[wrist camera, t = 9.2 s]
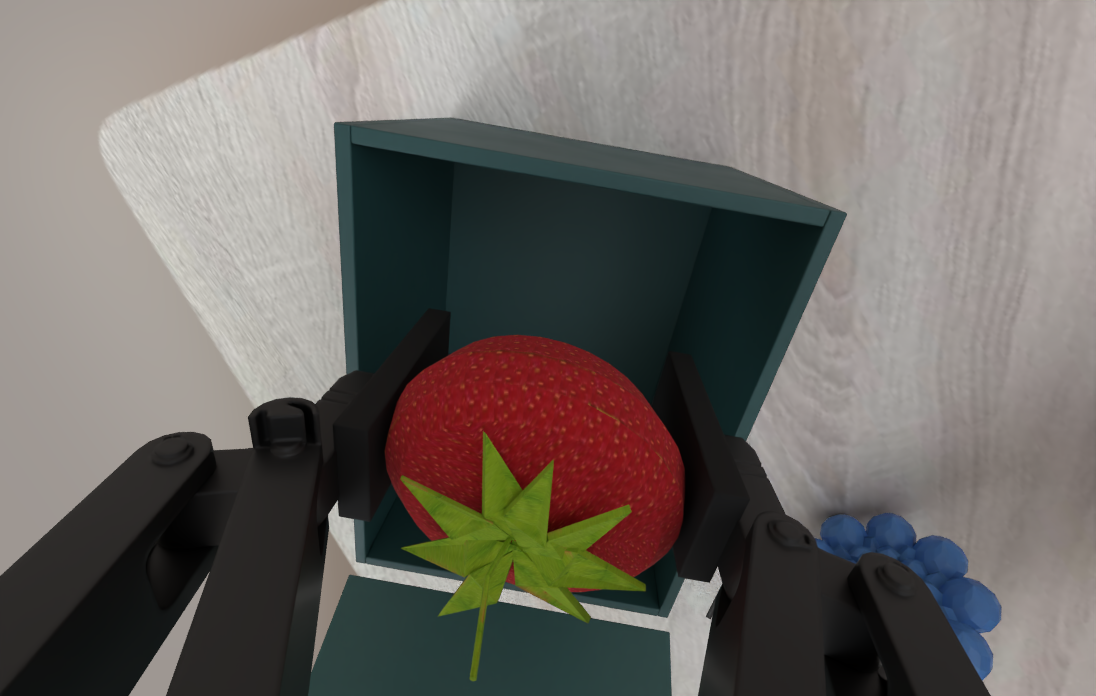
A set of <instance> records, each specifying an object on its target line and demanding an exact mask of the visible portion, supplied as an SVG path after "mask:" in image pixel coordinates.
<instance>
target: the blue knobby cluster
mask: <svg viewBox="0 0 1096 696" xmlns="http://www.w3.org/2000/svg"><path fill="white" fill-rule="evenodd" d="M820 535H821V538H822V540H820V539H817V538H815V540H816V543H817V546H818V548H820V549H822V550H824V551H826V552H828V553H831V554H833V555H836V556H838V557H840V558H843V559H845V560H848V561H850V562H852V563H855V564H856V563H857V562H858V560H859V559H860V557H861V556H862V554H866V553H869V552H874V553H882V554H884V555H887V556H889V557H892V558H894V559H896V560H898V561H900V562H901V563H903V564H904V565H906V566H908V567H909V568H910V569H911V570H913V571H914V572H915V573H916V574H917V575H918V576H919V577H920V578H922V580H923V581H924V582H925V584H926V585H927V586H928V588H929V589H930V591H931V592H932V594H933V596H934V598H935V599H936V601H937V603H938V605H939V606H940V608H941V610H942V612H943V613H944V615H945V617H946V619H947V620H948V622H949V624H950V626H951V627H952V629H953V631H954V632H955V634H956V636H957V638H958V639H959V641H960V643H961V645H962V646H963V648H964V650H965V652H966V653H967V655H968V657H969V659H970V660H971V662H972V664H973V666H974V667H975V669H976V671H977V673H978V674H979V676H980V678H981V680H983V679H984V678H985V677H986V676H987V675H988V674H989V673H990V672H991V670H992V667H993V653H992V651H991V649H990V648H989V646H988V644H987V642H986V640H985V639H984V638H983V637H982V636H981V635H980V634H979V633H984V632H990V631H991V630H992V629H993V628H994V627H995V626H996V625H997V624H998V623H999V622H1000V620H1001V605H1000V603H999V601H998V600H997V598H996V596H995V594H994V593H992V592H991V591H990V590H989V589H988V588H987V587H985V586H984V585H983V584H982V583H980V582H979V581H976V580H973V579H970V578H965V577H963V576H964V575H965V574H966V573H967V571H968V559H967V558H966V556H965V554H964V552H963V550H962V549H961V548H960V547H959V546H957V545H956V544H955V543H954V542H952V541H951V540H950V539H947V538H945V537H942V536H934V535H931V536H928V537H924V538H922V539H919V540H918V541H917V543H916V533H915V531H914V529H913V527H912V525H911V524H909V523H908V522H907V521H906V520H905V519H904V518H902V517H901V516H899V515H896V514H893V513H883V514H880V515H877V516H874V517H873V518H872V519H871V520H870V521H869V522H868V523H867V527H866V531H865V529H864V526H863V525H862V524H861V523H860V522H859V521H857V520H856V519H855V518H854V517H852V516H849V515H844V514H838V515H835V516H832V517H829V518H827V520H826V521H825V522H824V523H823V524H822V526H821V532H820Z"/></svg>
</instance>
